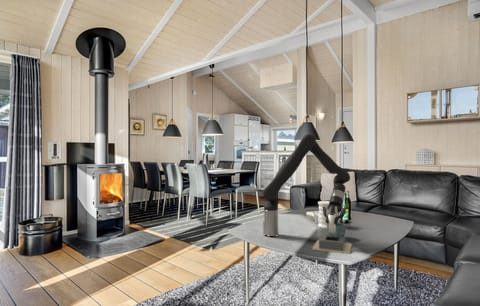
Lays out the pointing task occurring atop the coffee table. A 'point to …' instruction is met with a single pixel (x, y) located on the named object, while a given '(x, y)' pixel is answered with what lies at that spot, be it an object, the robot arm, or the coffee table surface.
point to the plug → (331, 221)
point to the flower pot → (338, 230)
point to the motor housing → (332, 244)
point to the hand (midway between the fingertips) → (331, 223)
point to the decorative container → (322, 214)
